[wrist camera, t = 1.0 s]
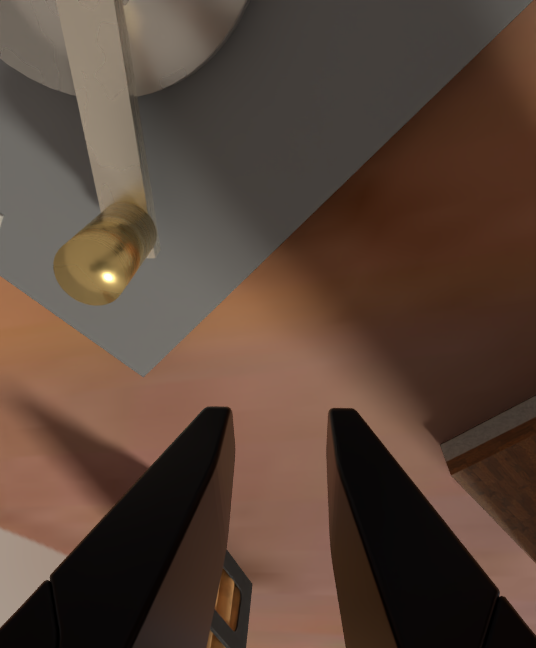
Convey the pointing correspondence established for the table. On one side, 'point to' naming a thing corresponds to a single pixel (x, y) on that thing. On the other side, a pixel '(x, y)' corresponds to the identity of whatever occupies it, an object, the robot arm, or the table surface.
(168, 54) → the disc crank with handle
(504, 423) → the display case
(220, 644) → the ammunition clip
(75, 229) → the stand base
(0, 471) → the table surface
